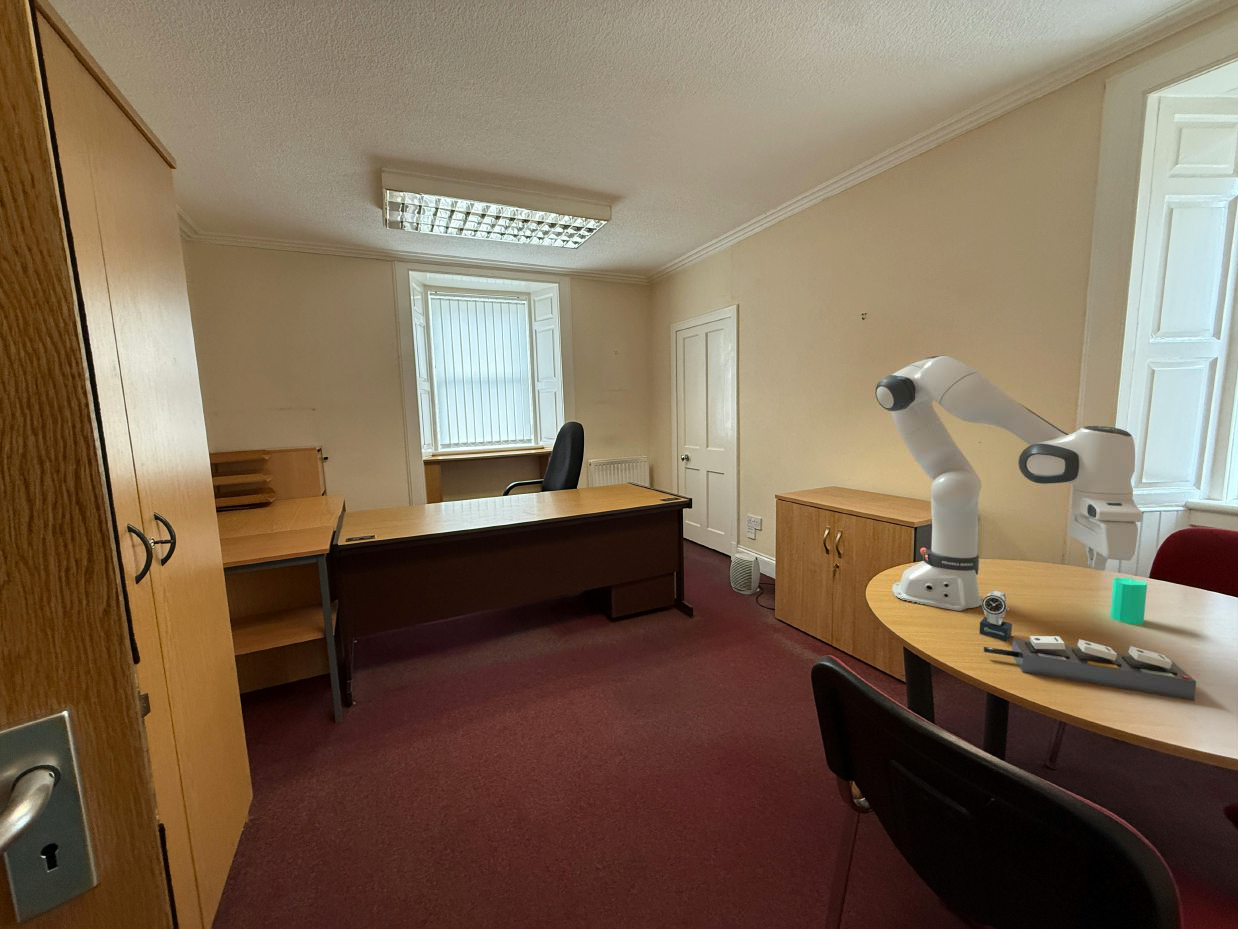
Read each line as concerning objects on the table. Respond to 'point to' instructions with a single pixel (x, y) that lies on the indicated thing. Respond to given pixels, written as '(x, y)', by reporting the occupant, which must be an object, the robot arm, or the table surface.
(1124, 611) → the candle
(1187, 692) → the strip
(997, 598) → the watch
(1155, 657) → the rocker
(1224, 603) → the table surface
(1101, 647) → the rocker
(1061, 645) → the plate
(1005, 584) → the table surface
